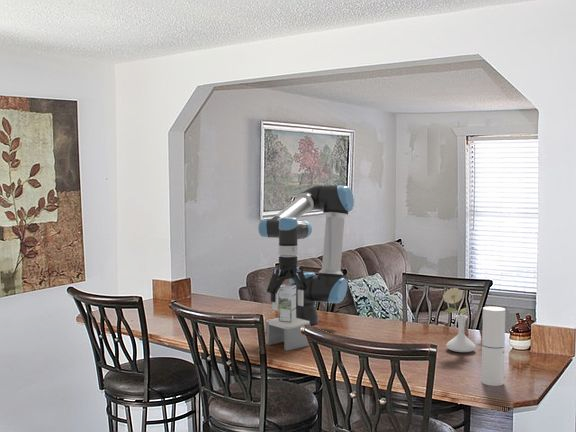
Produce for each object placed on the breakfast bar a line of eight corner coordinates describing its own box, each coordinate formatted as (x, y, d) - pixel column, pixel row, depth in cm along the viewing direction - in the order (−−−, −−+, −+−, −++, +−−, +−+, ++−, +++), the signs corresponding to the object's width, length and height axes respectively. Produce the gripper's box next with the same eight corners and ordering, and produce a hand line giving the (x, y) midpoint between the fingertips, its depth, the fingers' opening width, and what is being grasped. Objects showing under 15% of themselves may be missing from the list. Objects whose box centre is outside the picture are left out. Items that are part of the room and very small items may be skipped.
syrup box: (296, 319, 271) (296, 284, 270) (291, 322, 266) (291, 286, 265) (283, 318, 273) (283, 283, 272) (278, 321, 268) (278, 285, 267)
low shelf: (266, 344, 271) (266, 319, 271) (288, 339, 279) (288, 315, 278) (287, 350, 262) (287, 325, 261) (309, 345, 269) (309, 321, 269)
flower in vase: (476, 348, 266) (477, 286, 264) (475, 355, 255) (477, 291, 253) (442, 345, 269) (443, 284, 268) (440, 353, 259) (442, 289, 257)
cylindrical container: (476, 381, 224) (478, 307, 222) (491, 377, 227) (493, 305, 226) (493, 387, 217) (495, 311, 216) (508, 383, 221) (510, 309, 220)
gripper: (269, 259, 257) (269, 313, 258) (317, 254, 273) (316, 305, 275) (257, 257, 263) (257, 310, 264) (304, 252, 279) (304, 302, 280)
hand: (287, 307), depth 269 cm, fingers open, 13 cm apart
